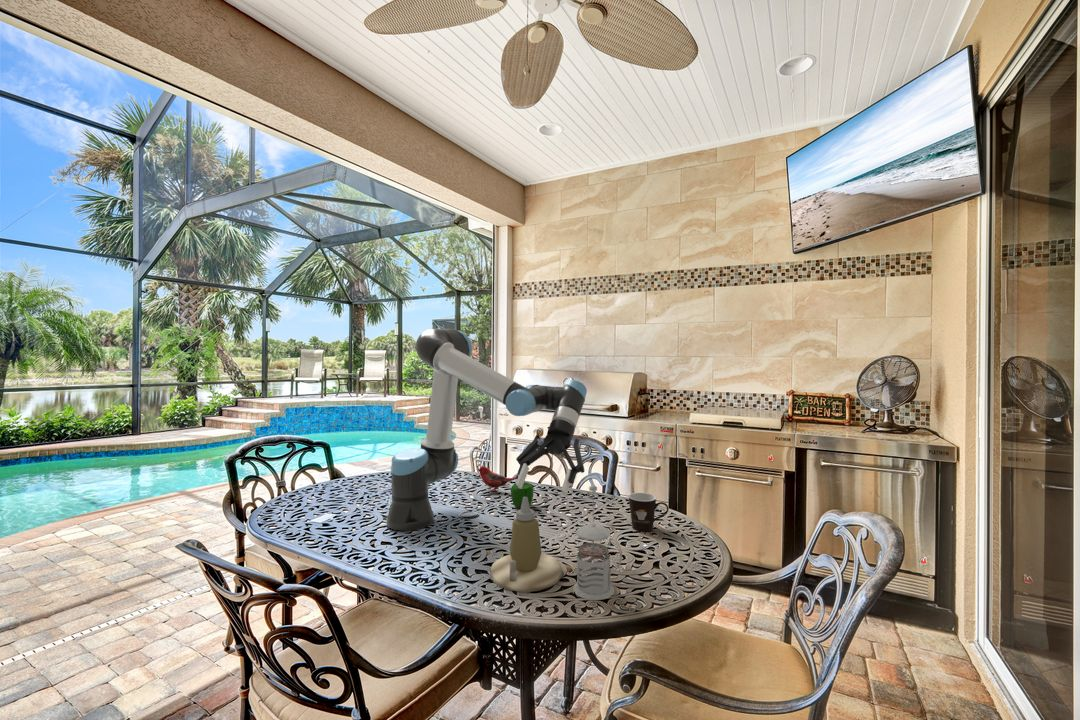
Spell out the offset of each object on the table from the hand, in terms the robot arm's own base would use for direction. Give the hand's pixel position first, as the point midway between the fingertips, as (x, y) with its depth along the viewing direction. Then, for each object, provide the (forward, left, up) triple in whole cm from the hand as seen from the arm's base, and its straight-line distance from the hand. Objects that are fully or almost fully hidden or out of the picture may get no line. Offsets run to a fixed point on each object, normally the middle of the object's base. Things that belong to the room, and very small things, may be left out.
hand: (540, 489), depth 127 cm
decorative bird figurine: (-42, +48, -20) cm, 67 cm away
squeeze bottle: (-1, -8, -18) cm, 20 cm away
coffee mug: (+21, +34, -20) cm, 44 cm away
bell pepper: (-25, +37, -20) cm, 49 cm away
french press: (+19, -8, -20) cm, 28 cm away
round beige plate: (0, -8, -19) cm, 21 cm away
